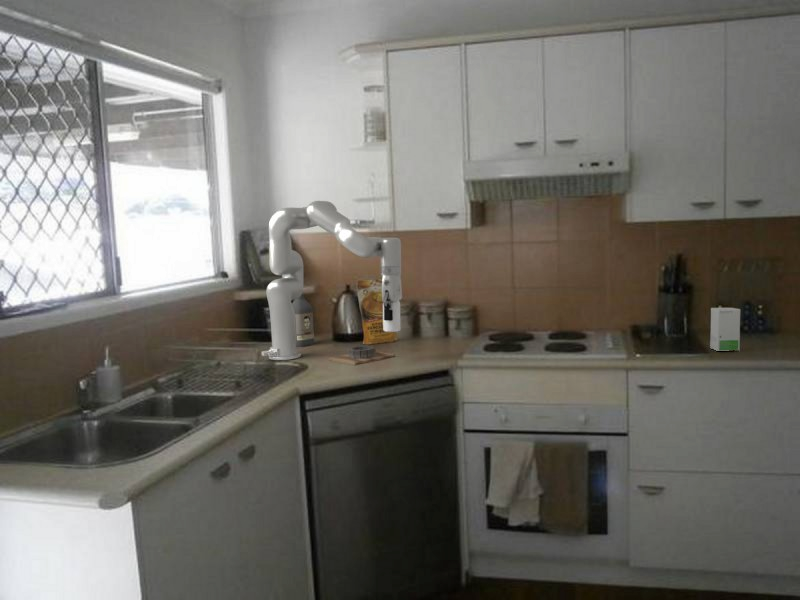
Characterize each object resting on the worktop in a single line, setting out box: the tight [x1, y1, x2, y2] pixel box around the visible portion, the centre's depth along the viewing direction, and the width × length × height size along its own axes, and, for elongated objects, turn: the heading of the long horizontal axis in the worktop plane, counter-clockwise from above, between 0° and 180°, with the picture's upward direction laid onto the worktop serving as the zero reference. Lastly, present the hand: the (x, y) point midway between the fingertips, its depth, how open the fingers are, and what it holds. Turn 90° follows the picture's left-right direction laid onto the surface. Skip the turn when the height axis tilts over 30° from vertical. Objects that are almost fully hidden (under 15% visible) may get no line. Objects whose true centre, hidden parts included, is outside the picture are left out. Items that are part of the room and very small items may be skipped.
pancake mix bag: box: [355, 278, 398, 345], centre depth 296 cm, size 7×19×28 cm, turn 116°
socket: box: [328, 345, 396, 366], centre depth 264 cm, size 20×16×4 cm
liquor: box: [291, 291, 315, 348], centre depth 298 cm, size 9×9×30 cm
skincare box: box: [709, 307, 741, 352], centre depth 248 cm, size 8×7×16 cm
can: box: [383, 300, 401, 333], centre depth 254 cm, size 6×6×12 cm
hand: (391, 318), depth 254 cm, fingers closed on can, 6 cm apart
